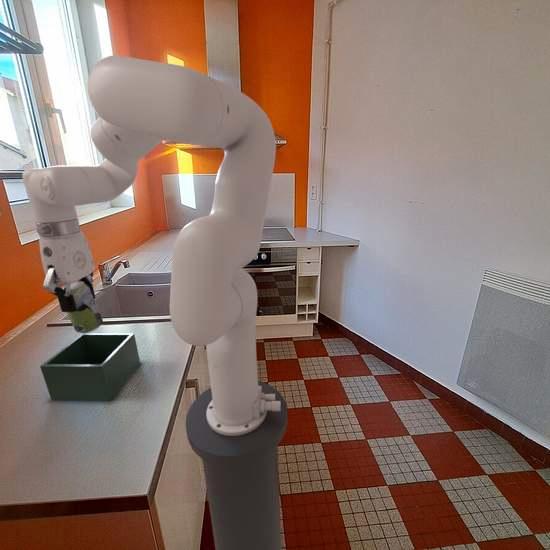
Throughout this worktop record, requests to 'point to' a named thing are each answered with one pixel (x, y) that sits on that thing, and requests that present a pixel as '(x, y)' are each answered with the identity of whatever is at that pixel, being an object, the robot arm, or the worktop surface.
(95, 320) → the beverage can
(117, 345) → the waste bin
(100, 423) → the worktop surface
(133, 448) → the worktop surface
